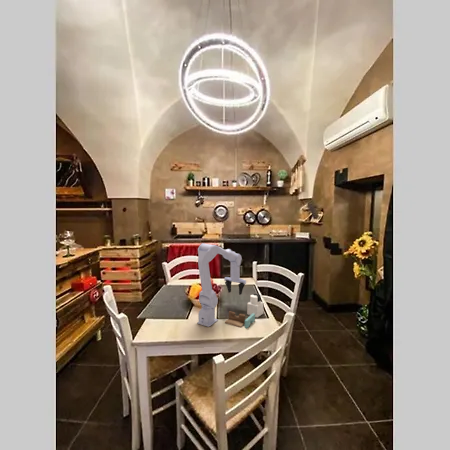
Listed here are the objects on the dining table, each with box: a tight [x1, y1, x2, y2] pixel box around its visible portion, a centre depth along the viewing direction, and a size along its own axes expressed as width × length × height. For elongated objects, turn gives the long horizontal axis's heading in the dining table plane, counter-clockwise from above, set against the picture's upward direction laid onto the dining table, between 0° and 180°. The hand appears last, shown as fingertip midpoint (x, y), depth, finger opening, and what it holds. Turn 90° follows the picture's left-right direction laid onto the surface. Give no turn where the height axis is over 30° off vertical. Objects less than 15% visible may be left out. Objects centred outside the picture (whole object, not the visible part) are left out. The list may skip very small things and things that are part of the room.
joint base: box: [224, 310, 248, 328], centre depth 144 cm, size 10×10×5 cm
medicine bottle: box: [246, 293, 264, 319], centre depth 153 cm, size 7×7×12 cm
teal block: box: [244, 313, 256, 329], centre depth 141 cm, size 10×2×4 cm, turn 150°
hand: (235, 293), depth 161 cm, fingers open, 7 cm apart
